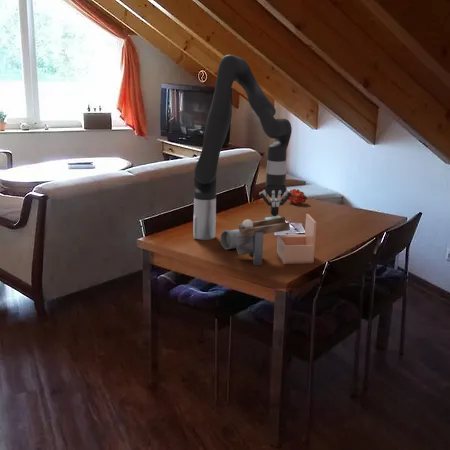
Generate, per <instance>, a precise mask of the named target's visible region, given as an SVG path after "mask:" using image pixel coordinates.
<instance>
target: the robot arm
mask: <svg viewBox="0 0 450 450" xmlns="http://www.w3.org/2000/svg"><path fill="white" fill-rule="evenodd" d="M218 64H219V65H218V70H217V75H216V79H215V80H216V81H215V87H214V92H213V97H212V101H211V106H210V108H209V111H208V115H207V118H206V123H205V129H204V134H203V143H202V149H201V152H200V155H199V158H198V161H196V163H195V165H194V168H193V173H194V175H193V176H194V177H193V178H194V179H193V181H194V182H193V183H194V184H193V216H192V217H193V219H192V220H193V221H192V224H193V225H192V226H193V227H192V228H193V229H192V230H193V232H192V233H193V235H192V236H193V239H194V240H202V241H208V240H213V239H215V238H216V225H217V223H216V219H217V217H216V216H217V173H218V164H219V159H220V154H221V150H222V148H223V145H224V143H225V140H226V138H227V135H228V132H229V128H230V124H231V121H232V117H233V111H232V110H233V108H232V101H231V92H232V87H233V84H234V82H236V83H238V85H240V86H241V88H242V89H243V91H244V92H245V94H246V96H247V99H248V100H247V101H248V103H249V105H250V107H251V109H252V110H253V112H254V113H255V115H256V116H257V117H258V118H259V123H260V125H261V127H262V130H263V131H264V134H265V135H266V137H269V139H274V142H273V143H271V144H270V145H269V146H268V147H267V162H266V163H267V164H266V174H265V175H266V176H265V177H266V180H265V186H264V189H263V190H262V191H259V192H258V195H259V196H260V197H261V198H262V200H263V201H264V202H265V203H266V205H267V206H270V215H271V217H273V216H279V207H280V206H284V205H285V204H286V203H287V201H289V200H288V199H289V197H290V196H291V195H292V194H291V192H289V191H290V190H288V189H287V185H286V183H287V182H286V180H287V149H288V147H289V142H290V141H291V140H290V139H291V137H292V131H293V128H292V124H291V122H290V120H289V119H287V118H275V114H276V108H275V106H274V104H273V103H272V102H271V100H270V99H269V98H268V97H267V95H266V93H265V92H264V91H263V89H261V87H260V85H259V83H258V81H257V79H256V77H255V76H254V73H253V72H252V70H251V67H250V65H249V63H248V62H247V61H246V60H245V59H244V58H242V57H240V56H237V55H232V54H226V55H224V56H223V57H222V59H221V60H220V63H218ZM266 196H268V197H269V200H270V201H269V200H268V198H267V197H266Z"/></svg>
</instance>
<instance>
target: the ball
mask: <svg viewBox="0 0 450 450" xmlns="http://www.w3.org/2000/svg"><path fill="white" fill-rule="evenodd" d="M253 222H254V221H252V220H251V219H249V218H248V219H244V220H243V221H242V223H243V224H242V226H243V228H244V229H247V228H252V227H253Z"/></svg>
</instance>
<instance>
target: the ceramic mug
mask: <svg viewBox="0 0 450 450" xmlns="http://www.w3.org/2000/svg"><path fill="white" fill-rule="evenodd" d="M234 232H240V231H239V228H238V229H230V230H229V229H225V230H223V231H222V232H221V234H220V245H221V246H222V248H223V249H224V250H231V249H232V250H234V249H236V242H235V233H234Z"/></svg>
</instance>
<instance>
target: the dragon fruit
mask: <svg viewBox="0 0 450 450" xmlns="http://www.w3.org/2000/svg"><path fill="white" fill-rule="evenodd" d="M288 191H289V192H291V194H292V195H291V196H290V197H289V199H288V200H287V201H290V203H291V204H295V205H299V206H301V205H302V204H303V203H306V200H307V201H308V197H307V195H306V194H305V192H303V191H301V190H300V189H297V188H296V189H295V188H293V189H290V190H288Z"/></svg>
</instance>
